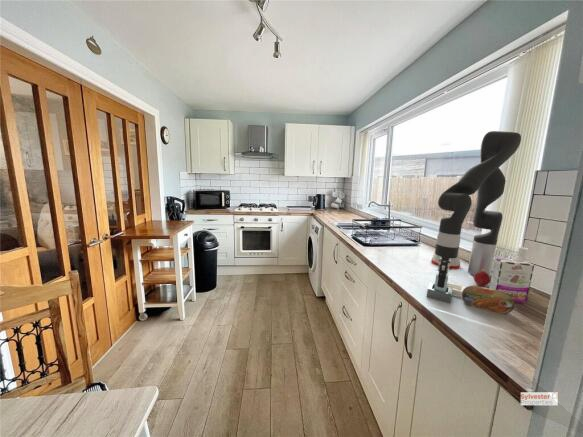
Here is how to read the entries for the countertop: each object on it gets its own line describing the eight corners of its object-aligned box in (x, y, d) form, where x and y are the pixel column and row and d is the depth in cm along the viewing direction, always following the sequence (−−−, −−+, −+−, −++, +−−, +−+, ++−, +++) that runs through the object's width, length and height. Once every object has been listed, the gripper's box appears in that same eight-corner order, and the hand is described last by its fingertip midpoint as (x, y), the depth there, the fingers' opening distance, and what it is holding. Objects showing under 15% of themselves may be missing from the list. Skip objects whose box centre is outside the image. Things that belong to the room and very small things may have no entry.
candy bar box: (517, 298, 98) (526, 260, 95) (526, 304, 93) (535, 264, 91) (486, 294, 101) (494, 257, 98) (494, 299, 96) (502, 261, 93)
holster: (443, 287, 105) (444, 281, 104) (463, 292, 101) (464, 286, 100) (442, 293, 99) (443, 286, 99) (463, 299, 95) (464, 292, 95)
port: (428, 290, 101) (430, 281, 101) (450, 296, 97) (452, 286, 96) (426, 297, 95) (427, 287, 94) (449, 304, 90) (451, 294, 90)
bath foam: (526, 292, 104) (536, 248, 100) (523, 296, 99) (534, 251, 96) (505, 286, 109) (514, 244, 106) (502, 290, 105) (511, 247, 101)
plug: (445, 292, 96) (449, 271, 94) (445, 296, 93) (448, 274, 91) (434, 289, 98) (437, 269, 97) (433, 293, 95) (436, 271, 93)
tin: (460, 305, 90) (464, 285, 89) (459, 301, 93) (463, 281, 92) (512, 317, 83) (517, 295, 82) (509, 313, 86) (514, 292, 85)
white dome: (438, 258, 145) (441, 235, 143) (463, 266, 134) (468, 240, 132) (426, 262, 137) (430, 237, 135) (453, 270, 126) (457, 243, 124)
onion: (491, 290, 105) (494, 273, 103) (476, 288, 106) (480, 271, 104) (483, 284, 110) (486, 268, 109) (469, 282, 111) (472, 266, 110)
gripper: (458, 250, 84) (451, 294, 87) (459, 242, 95) (452, 282, 98) (434, 245, 88) (428, 288, 91) (437, 238, 100) (432, 277, 103)
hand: (440, 284), depth 95 cm, fingers closed on plug, 4 cm apart
